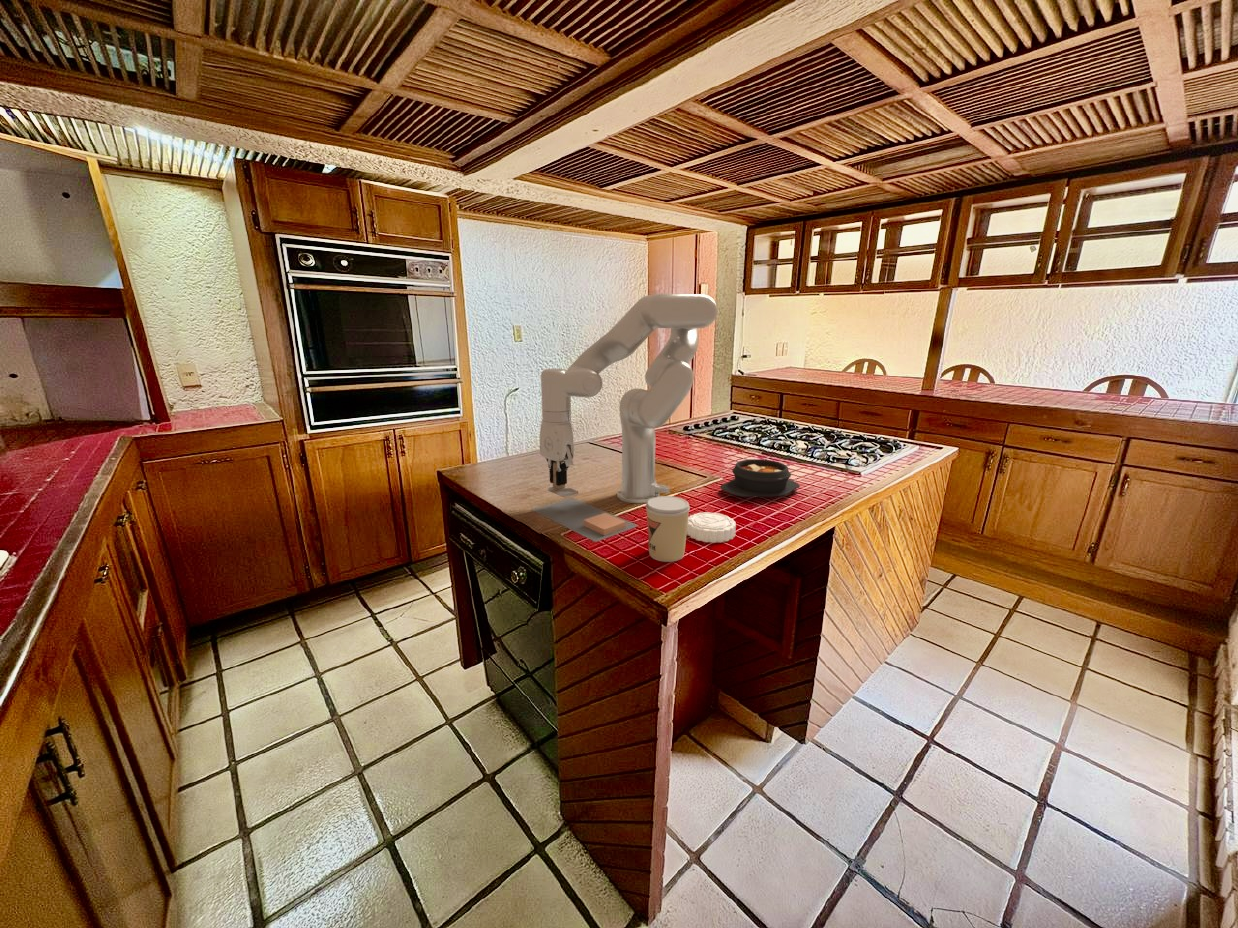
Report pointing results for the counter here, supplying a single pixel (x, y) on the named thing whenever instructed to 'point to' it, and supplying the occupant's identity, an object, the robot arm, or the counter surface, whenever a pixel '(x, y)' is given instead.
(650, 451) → the robot arm
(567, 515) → the mat
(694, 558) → the counter surface
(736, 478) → the casserole
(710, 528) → the mooncake
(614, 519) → the tile
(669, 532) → the coffee cup
